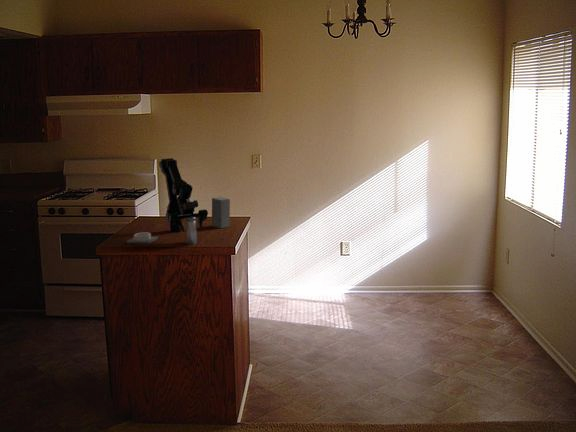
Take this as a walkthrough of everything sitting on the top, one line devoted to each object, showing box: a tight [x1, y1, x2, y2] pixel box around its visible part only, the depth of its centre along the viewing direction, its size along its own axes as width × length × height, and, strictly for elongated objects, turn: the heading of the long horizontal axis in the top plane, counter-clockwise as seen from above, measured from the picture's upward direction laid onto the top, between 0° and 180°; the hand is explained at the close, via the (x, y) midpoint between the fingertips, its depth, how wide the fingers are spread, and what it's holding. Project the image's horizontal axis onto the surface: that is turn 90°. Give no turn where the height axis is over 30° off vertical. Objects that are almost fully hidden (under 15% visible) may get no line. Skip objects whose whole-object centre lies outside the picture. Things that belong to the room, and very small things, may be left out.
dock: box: [126, 232, 159, 244], centre depth 320 cm, size 11×12×3 cm
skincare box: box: [211, 196, 231, 229], centre depth 345 cm, size 8×7×16 cm
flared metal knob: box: [185, 216, 198, 246], centre depth 309 cm, size 5×5×13 cm
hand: (192, 230), depth 308 cm, fingers open, 8 cm apart
